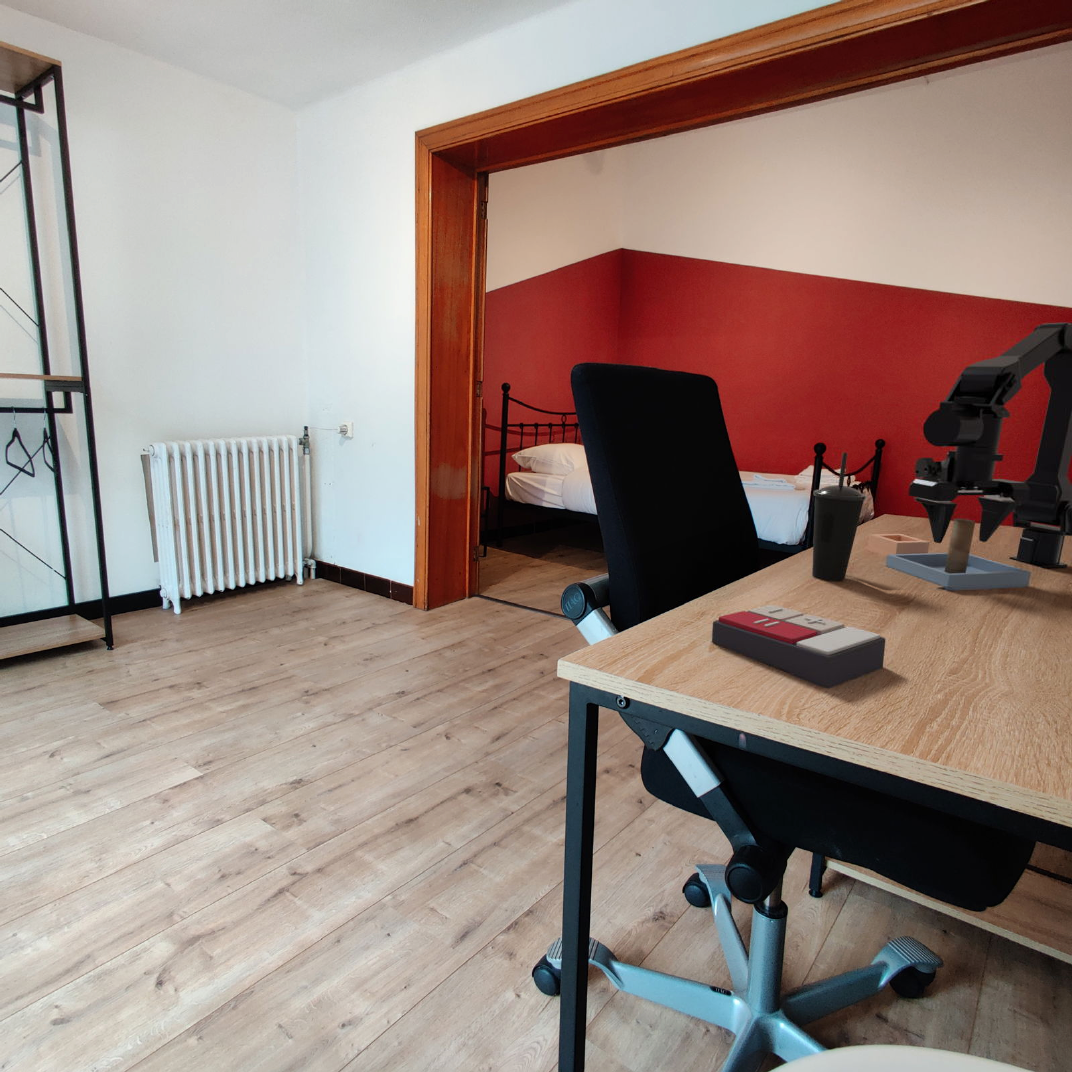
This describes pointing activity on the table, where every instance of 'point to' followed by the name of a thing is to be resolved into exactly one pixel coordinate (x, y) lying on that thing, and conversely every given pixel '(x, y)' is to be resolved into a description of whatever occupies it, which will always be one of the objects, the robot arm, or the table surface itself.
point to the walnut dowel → (959, 546)
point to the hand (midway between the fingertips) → (960, 542)
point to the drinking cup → (835, 527)
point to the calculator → (801, 644)
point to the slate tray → (976, 576)
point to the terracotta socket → (896, 544)
